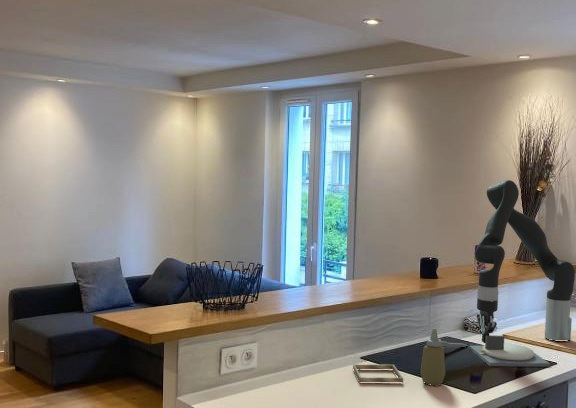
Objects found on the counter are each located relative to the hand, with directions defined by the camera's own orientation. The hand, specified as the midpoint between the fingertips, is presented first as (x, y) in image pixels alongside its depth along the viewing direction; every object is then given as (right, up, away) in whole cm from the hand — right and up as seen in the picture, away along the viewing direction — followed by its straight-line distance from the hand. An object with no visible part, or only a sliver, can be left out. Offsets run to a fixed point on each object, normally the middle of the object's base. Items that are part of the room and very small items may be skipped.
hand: (485, 342), depth 249 cm
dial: (+7, -4, -3) cm, 8 cm away
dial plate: (+8, -5, -3) cm, 9 cm away
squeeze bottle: (-28, -6, -35) cm, 45 cm away
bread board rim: (-45, -5, -30) cm, 54 cm away
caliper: (-12, -5, +5) cm, 13 cm away
